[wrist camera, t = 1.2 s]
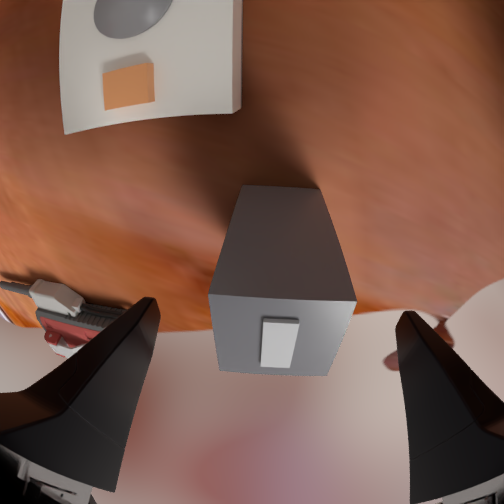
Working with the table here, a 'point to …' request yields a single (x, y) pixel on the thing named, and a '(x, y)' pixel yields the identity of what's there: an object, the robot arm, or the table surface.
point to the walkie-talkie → (65, 315)
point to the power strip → (148, 60)
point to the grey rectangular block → (280, 285)
